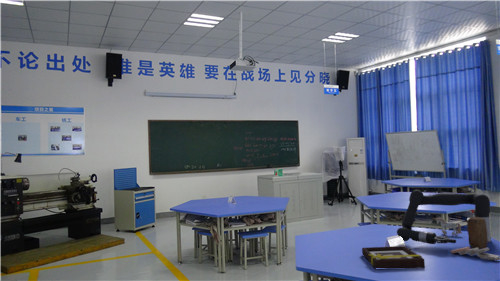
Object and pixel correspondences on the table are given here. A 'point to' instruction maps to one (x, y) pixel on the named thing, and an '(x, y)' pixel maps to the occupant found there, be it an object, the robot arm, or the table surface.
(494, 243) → the table surface
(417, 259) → the picture frame
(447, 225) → the unicorn figurine
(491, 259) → the domino
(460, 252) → the domino
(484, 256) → the domino
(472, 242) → the block
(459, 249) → the domino
